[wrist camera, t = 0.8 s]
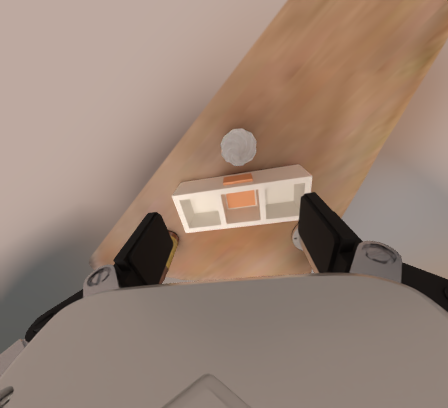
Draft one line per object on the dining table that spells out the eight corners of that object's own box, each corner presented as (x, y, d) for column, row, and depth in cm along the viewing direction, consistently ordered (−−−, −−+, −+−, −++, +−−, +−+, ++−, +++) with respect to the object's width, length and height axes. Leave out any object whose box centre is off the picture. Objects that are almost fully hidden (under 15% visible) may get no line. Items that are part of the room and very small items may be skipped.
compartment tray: (299, 161, 36) (312, 172, 30) (297, 202, 42) (308, 219, 36) (180, 180, 40) (170, 193, 34) (192, 215, 45) (185, 232, 39)
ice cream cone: (233, 115, 32) (234, 122, 19) (256, 132, 34) (270, 150, 21) (218, 140, 35) (210, 162, 22) (239, 155, 36) (244, 183, 23)
